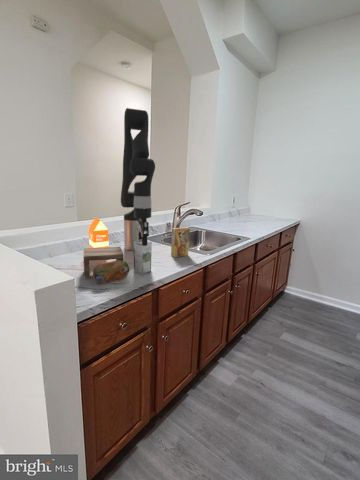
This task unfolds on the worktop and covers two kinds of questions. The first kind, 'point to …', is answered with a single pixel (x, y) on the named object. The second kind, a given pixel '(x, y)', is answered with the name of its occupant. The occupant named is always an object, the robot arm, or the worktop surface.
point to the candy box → (180, 242)
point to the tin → (110, 271)
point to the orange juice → (98, 234)
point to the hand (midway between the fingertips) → (142, 242)
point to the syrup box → (142, 256)
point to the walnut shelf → (100, 256)
